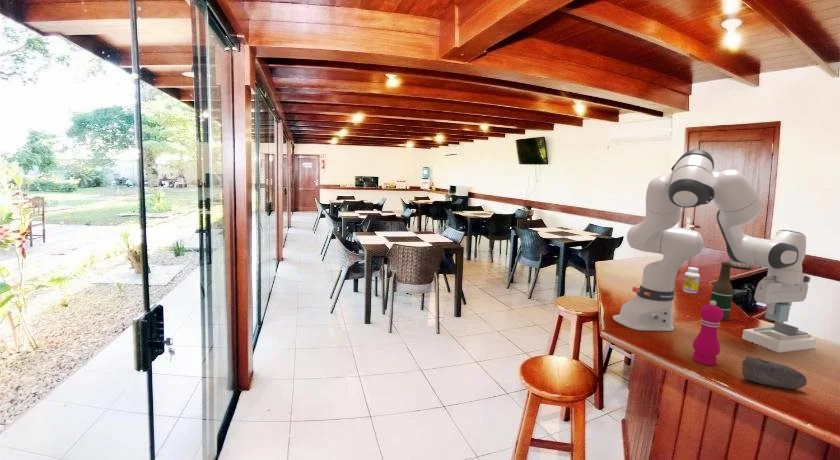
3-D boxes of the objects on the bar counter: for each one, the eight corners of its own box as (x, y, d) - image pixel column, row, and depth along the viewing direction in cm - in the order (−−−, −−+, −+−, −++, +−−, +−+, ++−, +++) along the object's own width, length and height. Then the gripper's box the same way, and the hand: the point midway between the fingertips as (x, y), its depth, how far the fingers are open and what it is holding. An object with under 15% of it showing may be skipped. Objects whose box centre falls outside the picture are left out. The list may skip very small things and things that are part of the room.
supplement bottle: (679, 290, 216) (682, 266, 214) (688, 289, 218) (692, 266, 216) (690, 294, 209) (694, 269, 207) (700, 293, 211) (704, 269, 209)
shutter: (794, 336, 145) (796, 328, 145) (773, 329, 152) (775, 321, 151) (807, 335, 147) (809, 326, 147) (786, 328, 154) (788, 320, 153)
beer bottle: (733, 321, 170) (742, 265, 166) (712, 319, 171) (721, 263, 168) (723, 315, 177) (732, 261, 174) (703, 313, 179) (711, 259, 176)
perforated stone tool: (801, 388, 116) (805, 365, 115) (808, 396, 111) (813, 372, 110) (736, 374, 123) (739, 352, 122) (740, 381, 118) (744, 359, 117)
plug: (778, 322, 143) (782, 299, 142) (765, 317, 147) (768, 295, 146) (787, 321, 144) (791, 298, 143) (773, 317, 148) (777, 294, 147)
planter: (749, 270, 276) (752, 255, 274) (726, 267, 284) (729, 252, 283) (751, 267, 285) (754, 253, 283) (729, 264, 293) (731, 250, 292)
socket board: (777, 352, 140) (780, 340, 139) (742, 338, 151) (743, 326, 151) (814, 348, 145) (816, 336, 144) (776, 335, 156) (778, 324, 156)
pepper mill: (706, 356, 135) (716, 297, 132) (723, 366, 127) (733, 304, 125) (685, 355, 134) (694, 296, 131) (701, 365, 127) (710, 303, 124)
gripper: (771, 279, 138) (765, 318, 140) (814, 277, 143) (807, 315, 145) (752, 274, 144) (746, 312, 146) (794, 273, 149) (787, 309, 151)
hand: (777, 313), depth 146 cm, fingers closed on plug, 4 cm apart
